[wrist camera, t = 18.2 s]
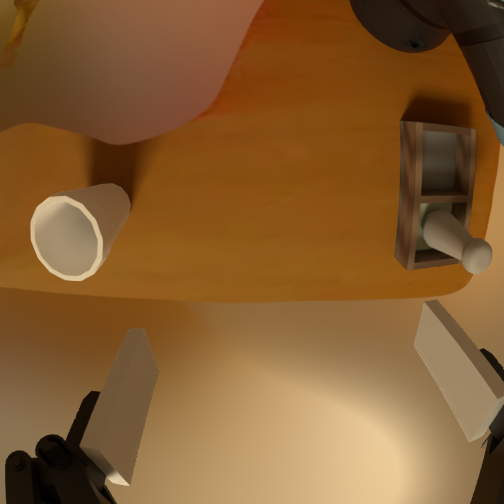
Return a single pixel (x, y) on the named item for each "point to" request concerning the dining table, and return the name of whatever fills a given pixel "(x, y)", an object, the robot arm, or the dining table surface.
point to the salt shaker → (456, 241)
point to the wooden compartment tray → (432, 186)
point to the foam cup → (78, 229)
